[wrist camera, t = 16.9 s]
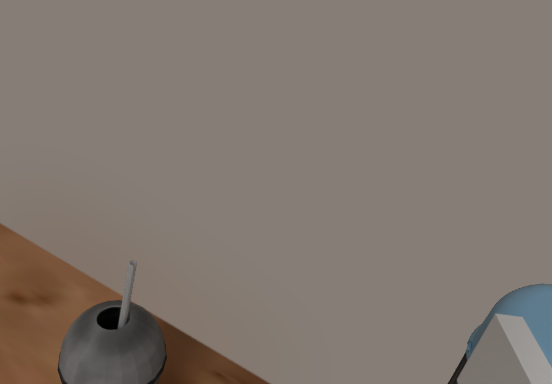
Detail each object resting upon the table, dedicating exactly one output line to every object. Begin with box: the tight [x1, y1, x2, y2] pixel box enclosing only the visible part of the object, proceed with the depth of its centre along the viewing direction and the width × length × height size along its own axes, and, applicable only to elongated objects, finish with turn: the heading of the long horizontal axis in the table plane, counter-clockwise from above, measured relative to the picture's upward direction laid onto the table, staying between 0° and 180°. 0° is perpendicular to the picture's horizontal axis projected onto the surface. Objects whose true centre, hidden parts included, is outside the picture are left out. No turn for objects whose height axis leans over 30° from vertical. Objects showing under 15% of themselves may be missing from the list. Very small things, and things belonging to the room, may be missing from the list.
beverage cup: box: [58, 260, 167, 384], centre depth 35 cm, size 7×7×20 cm
